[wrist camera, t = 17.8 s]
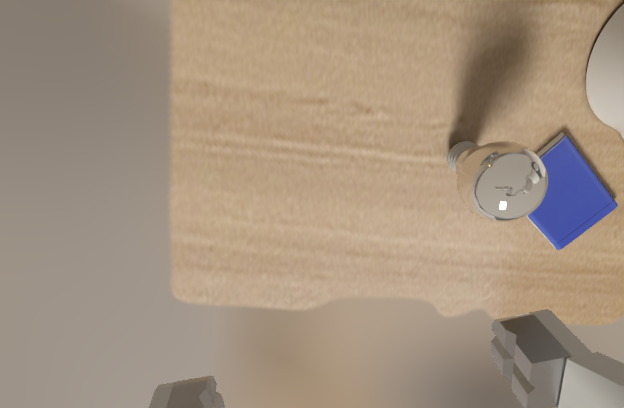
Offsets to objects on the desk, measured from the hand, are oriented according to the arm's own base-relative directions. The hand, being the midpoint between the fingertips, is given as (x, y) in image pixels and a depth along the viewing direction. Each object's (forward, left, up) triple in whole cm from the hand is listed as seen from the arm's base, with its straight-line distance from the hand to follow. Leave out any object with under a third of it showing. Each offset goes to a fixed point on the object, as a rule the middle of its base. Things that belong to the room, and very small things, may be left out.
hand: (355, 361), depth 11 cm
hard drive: (-28, +13, -30) cm, 43 cm away
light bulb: (-16, +6, -29) cm, 34 cm away
